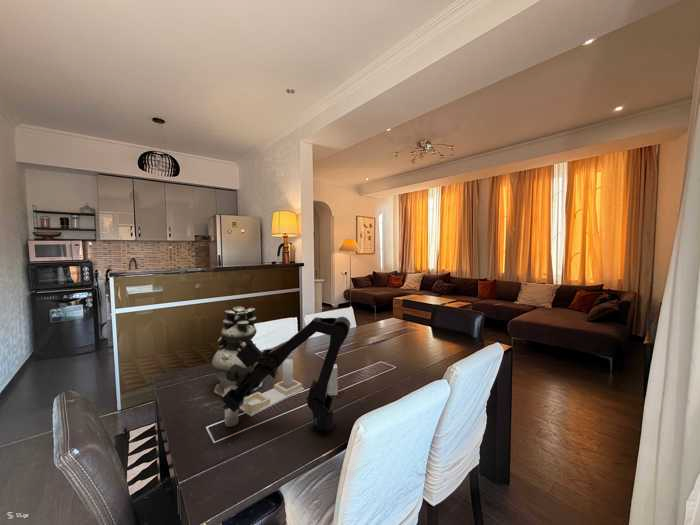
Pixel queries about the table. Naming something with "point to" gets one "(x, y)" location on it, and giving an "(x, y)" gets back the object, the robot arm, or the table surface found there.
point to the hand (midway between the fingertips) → (227, 404)
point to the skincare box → (333, 382)
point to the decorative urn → (233, 344)
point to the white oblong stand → (273, 392)
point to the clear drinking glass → (230, 416)
